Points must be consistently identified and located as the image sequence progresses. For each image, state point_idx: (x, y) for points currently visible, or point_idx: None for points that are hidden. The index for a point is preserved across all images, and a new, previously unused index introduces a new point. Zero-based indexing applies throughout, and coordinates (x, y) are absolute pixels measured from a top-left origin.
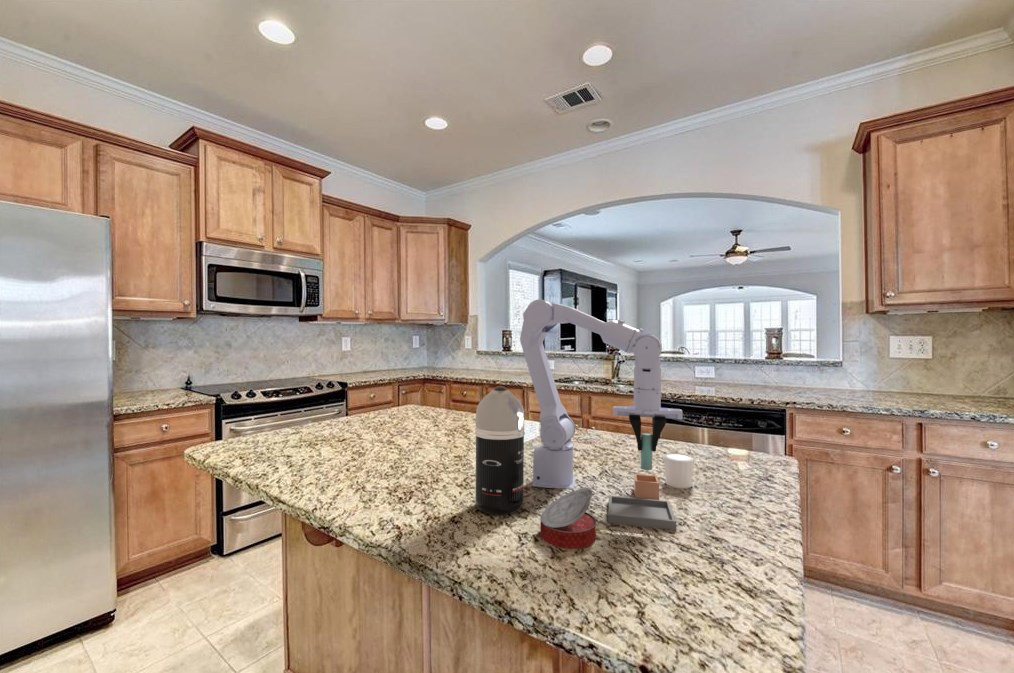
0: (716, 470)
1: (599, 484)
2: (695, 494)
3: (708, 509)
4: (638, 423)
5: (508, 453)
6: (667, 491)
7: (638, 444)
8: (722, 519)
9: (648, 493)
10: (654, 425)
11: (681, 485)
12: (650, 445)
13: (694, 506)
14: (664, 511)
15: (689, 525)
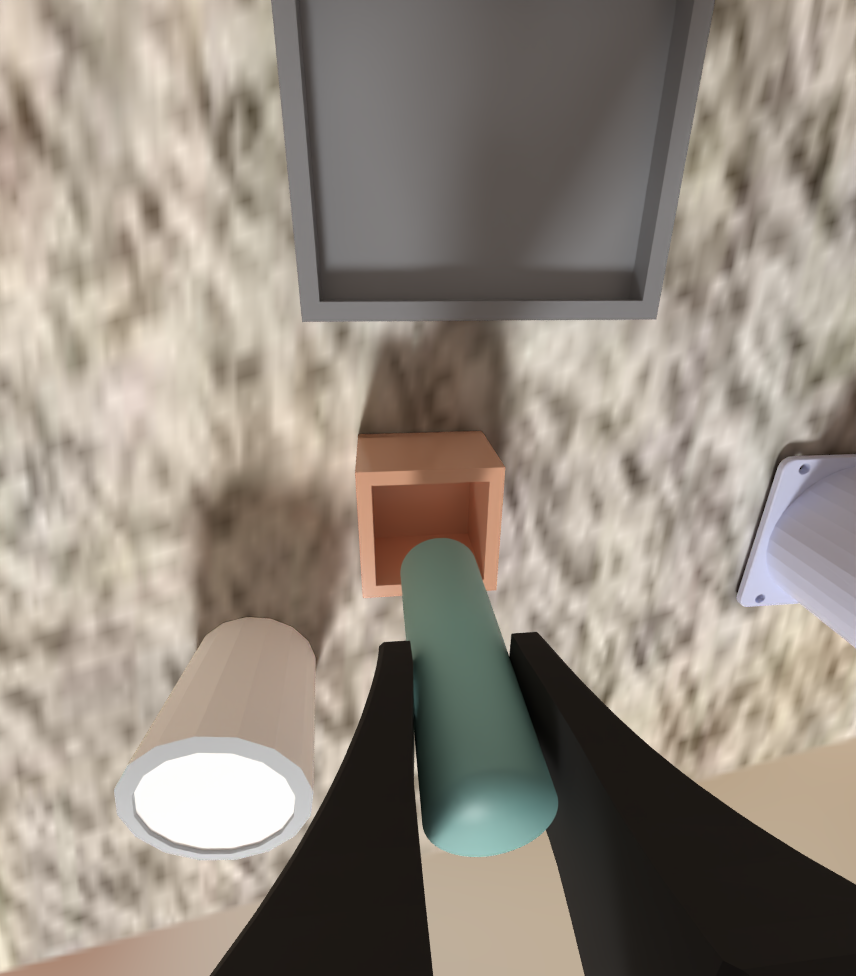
0: (91, 874)
1: (630, 576)
2: (174, 585)
3: (97, 399)
4: (748, 915)
5: None
6: (311, 583)
7: (561, 663)
8: (7, 265)
9: (416, 446)
10: (426, 932)
11: (237, 632)
12: (435, 682)
13: (174, 422)
14: (337, 212)
15: (194, 103)
